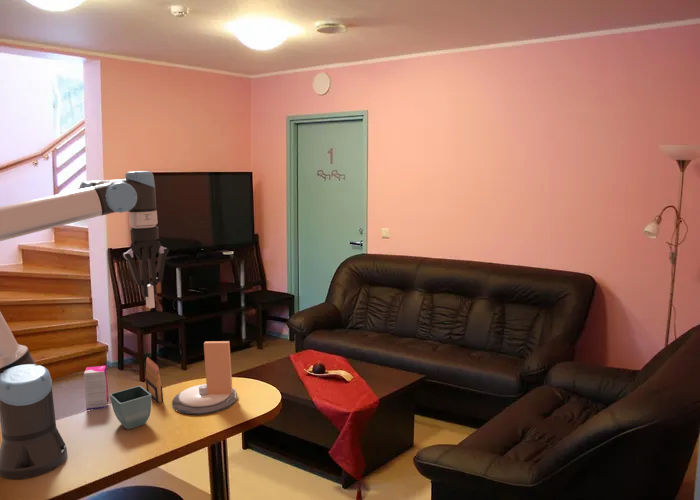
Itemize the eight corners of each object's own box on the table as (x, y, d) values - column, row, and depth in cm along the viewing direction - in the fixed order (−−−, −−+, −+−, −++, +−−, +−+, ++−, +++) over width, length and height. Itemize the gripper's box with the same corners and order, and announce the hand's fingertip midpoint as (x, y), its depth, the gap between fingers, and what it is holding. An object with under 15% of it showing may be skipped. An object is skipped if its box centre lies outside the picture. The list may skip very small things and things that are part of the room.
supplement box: (107, 408, 178) (103, 371, 176) (86, 410, 176) (82, 373, 174) (109, 400, 183) (106, 364, 181) (89, 403, 182) (85, 367, 180)
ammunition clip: (163, 402, 181) (160, 364, 179) (157, 404, 180) (154, 366, 178) (152, 391, 189) (149, 355, 187) (146, 393, 188) (143, 356, 186)
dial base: (158, 407, 178) (157, 394, 177) (203, 384, 194) (203, 373, 193) (206, 420, 168) (205, 406, 167) (249, 395, 184) (249, 383, 184)
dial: (172, 407, 174) (167, 351, 171) (187, 387, 188) (184, 335, 186) (226, 406, 173) (222, 350, 170) (237, 386, 188) (234, 334, 185)
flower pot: (122, 435, 160) (119, 403, 159) (111, 424, 167) (108, 393, 166) (154, 425, 166) (152, 394, 164) (142, 414, 173) (140, 385, 171)
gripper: (125, 229, 162) (133, 313, 166) (171, 224, 171) (177, 305, 174) (116, 227, 168) (123, 308, 172) (160, 222, 176) (166, 300, 180)
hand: (150, 307), depth 173 cm, fingers closed
